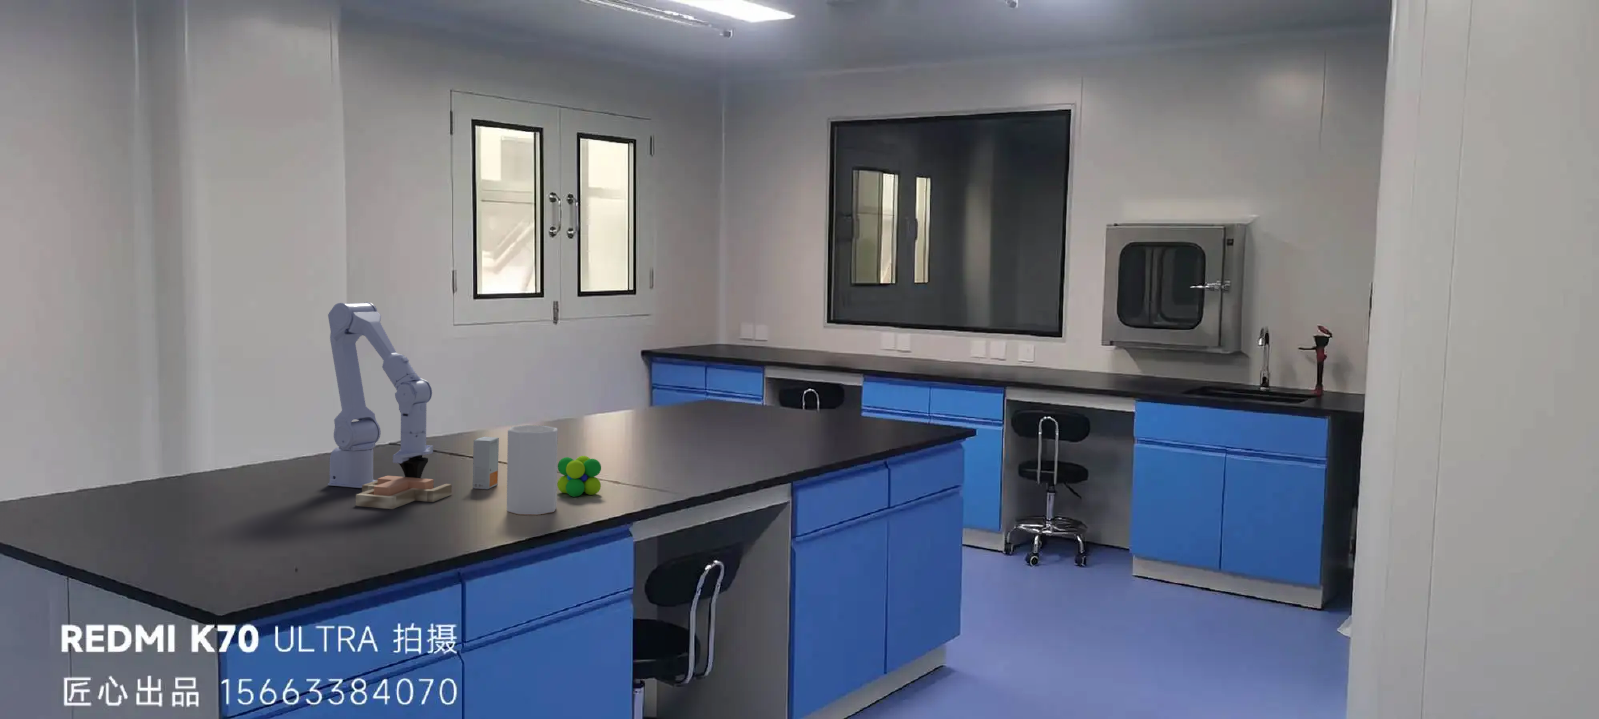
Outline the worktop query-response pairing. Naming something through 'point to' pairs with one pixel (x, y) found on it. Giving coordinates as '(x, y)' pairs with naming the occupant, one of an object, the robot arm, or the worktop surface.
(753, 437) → the worktop surface
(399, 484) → the tee
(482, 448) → the skincare box
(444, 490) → the nest
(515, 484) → the cup
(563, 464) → the molecule model
